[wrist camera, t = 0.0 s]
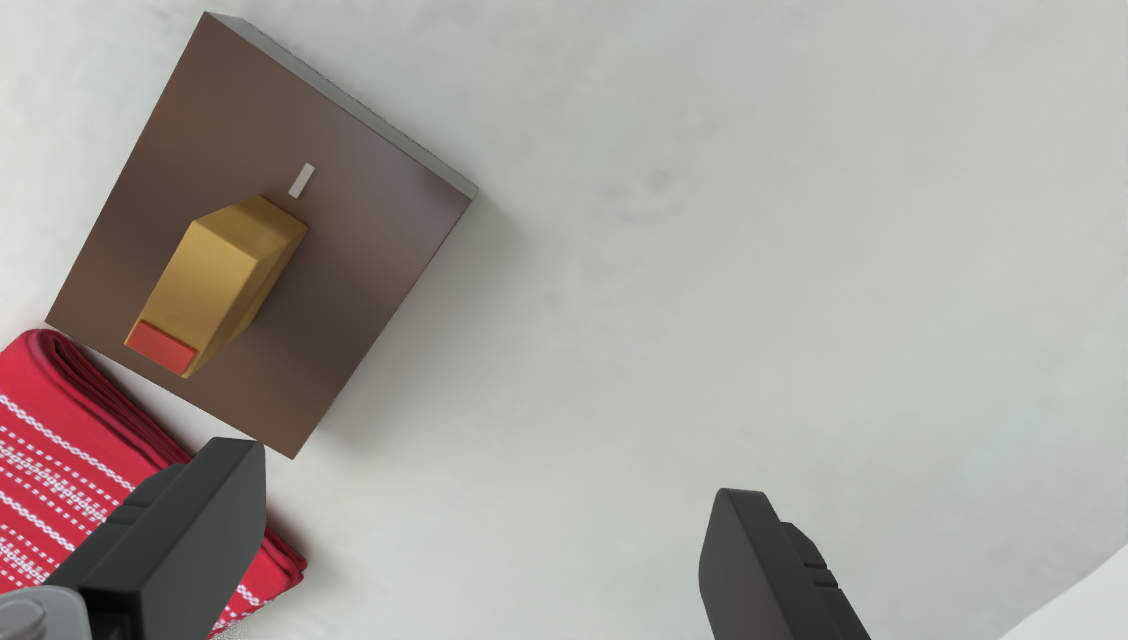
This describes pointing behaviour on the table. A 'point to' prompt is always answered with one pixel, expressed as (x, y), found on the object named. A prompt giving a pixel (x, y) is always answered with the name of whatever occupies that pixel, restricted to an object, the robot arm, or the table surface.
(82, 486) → the dish towel
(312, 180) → the lock plate
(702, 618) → the table surface
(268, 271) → the yellow milk carton
